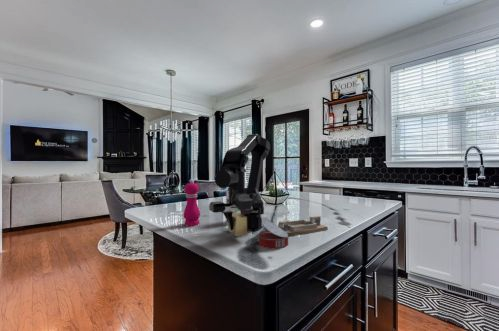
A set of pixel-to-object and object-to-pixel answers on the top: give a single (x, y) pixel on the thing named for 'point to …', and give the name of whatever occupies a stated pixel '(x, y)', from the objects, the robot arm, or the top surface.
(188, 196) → the pepper mill
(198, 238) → the top surface
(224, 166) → the robot arm
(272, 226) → the canned food
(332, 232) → the top surface
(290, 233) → the shaft board
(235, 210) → the syrup box
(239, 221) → the block
